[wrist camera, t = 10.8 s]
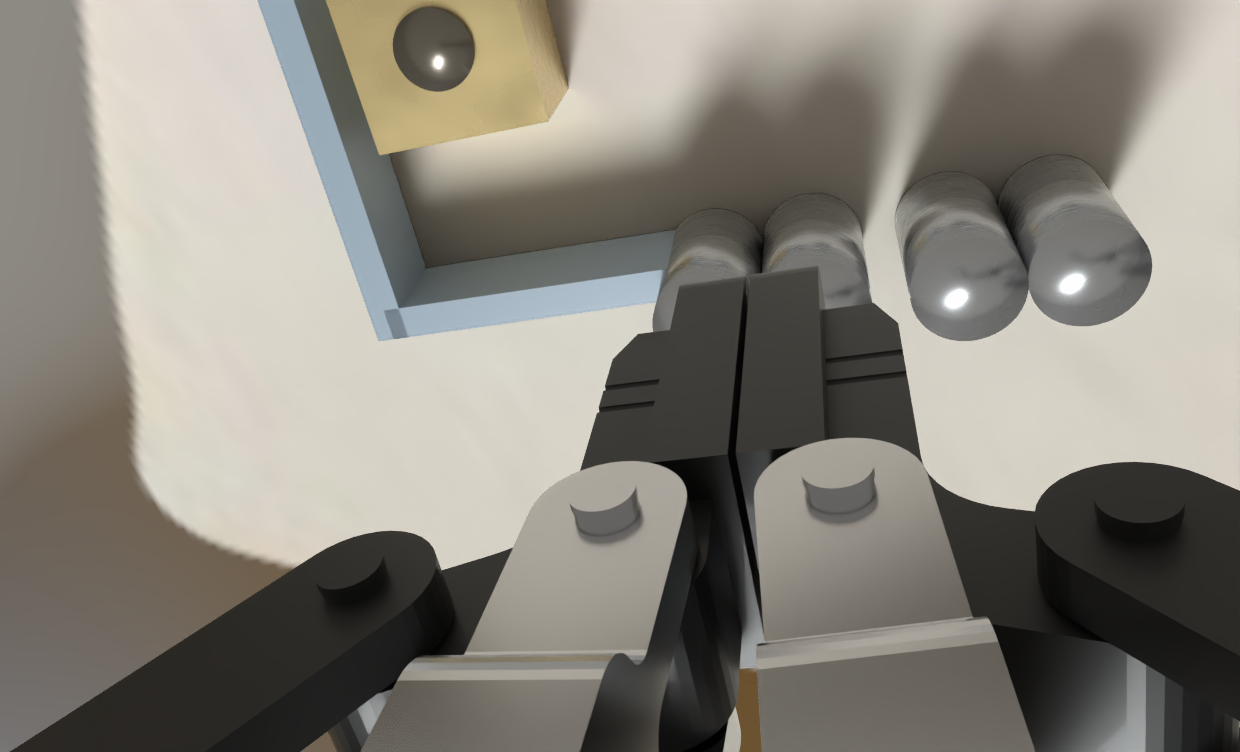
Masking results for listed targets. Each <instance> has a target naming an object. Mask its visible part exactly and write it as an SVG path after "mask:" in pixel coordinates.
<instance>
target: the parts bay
mask: <svg viewBox="0 0 1240 752" xmlns="http://www.w3.org/2000/svg"><path fill="white" fill-rule="evenodd" d="M258 3H259V6H260V9H261V12H262V14H263V17H264V20H265V23H266V26H267V28H268V31H269V34H270V37H271V40H272V42H273V45H274V48H275V51H276V54H277V57H278V59H279V62H280V65H281V68H282V71H283V73H284V76H285V79H286V82H287V85H288V87H289V90H290V93H291V96H292V99H293V102H294V104H295V107H296V110H297V113H298V116H299V118H300V121H301V124H302V127H303V130H304V132H305V135H306V138H307V141H308V144H309V147H310V149H311V152H312V155H313V158H314V161H315V163H316V166H317V169H318V172H319V175H320V177H321V180H322V183H323V186H324V189H325V192H326V194H327V197H328V200H329V203H330V206H331V208H332V211H333V214H334V217H335V220H336V222H337V225H338V228H339V231H340V234H341V237H342V239H343V242H344V245H345V248H346V251H347V253H348V256H349V259H350V262H351V265H352V268H353V270H354V273H355V276H356V279H357V282H358V284H359V287H360V290H361V293H362V296H363V298H364V301H365V304H366V307H367V310H368V313H369V315H370V318H371V321H372V324H373V327H374V329H375V332H376V335H377V338H378V341H384V340H391V339H398V338H406V337H413V336H420V335H427V334H434V333H441V332H448V331H455V330H462V329H470V328H477V327H484V326H491V325H498V324H505V323H512V322H519V321H527V320H534V319H541V318H548V317H555V316H562V315H569V314H576V313H583V312H591V311H598V310H605V309H612V308H619V307H626V306H633V305H640V304H648V303H655V302H656V301H657V297H658V293H659V288H660V284H661V281H662V277H663V275H664V273H665V271H666V270H667V266H668V262H669V257H670V253H671V249H672V244H673V240H674V235H675V231H676V230H670V231H663V232H657V233H650V234H644V235H637V236H631V237H624V238H618V239H611V240H605V241H598V242H592V243H585V244H579V245H572V246H566V247H559V248H553V249H546V250H540V251H533V252H527V253H520V254H514V255H508V256H501V257H495V258H488V259H482V260H475V261H469V262H462V263H456V264H449V265H443V266H436V267H430V268H426V267H425V264H424V261H423V258H422V254H421V251H420V248H419V245H418V242H417V239H416V236H415V233H414V230H413V227H412V223H411V220H410V217H409V214H408V211H407V208H406V205H405V202H404V199H403V195H402V192H401V189H400V186H399V183H398V180H397V177H396V174H395V171H394V168H393V164H392V161H391V158H390V155H389V154H384V155H379V153H378V150H377V147H376V144H375V141H374V139H373V136H372V133H371V130H370V127H369V124H368V121H367V118H366V115H365V113H364V110H363V107H362V104H361V101H360V98H359V95H358V92H357V89H356V86H355V84H354V81H353V78H352V75H351V72H350V69H349V66H348V63H347V60H346V58H345V55H344V52H343V49H342V46H341V43H340V40H339V37H338V34H337V32H336V29H335V26H334V23H333V20H332V17H331V14H330V11H329V8H328V5H327V3H326V0H258Z"/></svg>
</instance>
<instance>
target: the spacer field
mask: <svg viewBox="0 0 1240 752" xmlns="http://www.w3.org/2000/svg"><path fill="white" fill-rule="evenodd" d="M895 230H896V235H897V239H898V244H899V249H900V253H901V258H902V263H903V267H904V272H905V277H906V281H907V286H908V291H909V295H910V300H911V304H912V308H913V310H914V313H915V315H916V316H917V318H918V319H919V321H920V322H921V323H922V324H923V325H924V326H925V327H926V328H927V329H928V330H930V331H931V332H933V333H935V334H936V335H938V336H941V337H943V338H947V339H950V340H957V341H972V340H978V339H982V338H986V337H989V336H991V335H993V334H995V333H997V332H999V331H1001V330H1002V329H1004V328H1005V327H1006V326H1008V325H1009V324H1010V323H1011V322H1012V321H1013V320H1014V319H1015V318H1016V317H1017V316H1018V314H1019V313H1020V311H1021V310H1022V308H1023V306H1024V304H1025V301H1026V298H1027V294H1028V289H1029V291H1030V294H1031V296H1032V298H1033V300H1034V302H1035V304H1036V305H1037V307H1038V308H1039V309H1040V310H1041V311H1042V312H1043V313H1044V314H1045V315H1047V316H1048V317H1050V318H1051V319H1053V320H1055V321H1058V322H1060V323H1063V324H1067V325H1072V326H1092V325H1097V324H1101V323H1105V322H1108V321H1110V320H1112V319H1115V318H1116V317H1118V316H1120V315H1122V314H1123V313H1125V312H1126V311H1128V310H1129V309H1130V308H1131V307H1132V306H1133V305H1134V304H1135V303H1136V302H1137V301H1138V300H1139V299H1140V297H1141V296H1142V295H1143V293H1144V292H1145V290H1146V288H1147V286H1148V283H1149V281H1150V277H1151V272H1152V259H1151V255H1150V251H1149V249H1148V246H1147V245H1146V243H1145V241H1144V240H1143V238H1142V237H1141V235H1140V234H1139V233H1138V231H1137V230H1136V228H1135V227H1134V225H1133V224H1132V223H1131V221H1130V220H1129V218H1128V217H1127V215H1126V214H1125V213H1124V211H1123V210H1122V208H1121V207H1120V205H1119V204H1118V203H1117V201H1116V200H1115V198H1114V197H1113V195H1112V194H1111V192H1110V191H1109V190H1108V188H1107V187H1106V185H1105V184H1104V182H1103V181H1102V180H1101V178H1100V177H1099V175H1098V174H1097V173H1096V171H1095V170H1094V169H1093V168H1092V167H1091V166H1090V165H1088V164H1087V163H1085V162H1084V161H1082V160H1080V159H1078V158H1075V157H1071V156H1066V155H1050V156H1045V157H1041V158H1038V159H1035V160H1033V161H1031V162H1028V163H1027V164H1025V165H1024V166H1022V167H1021V168H1019V169H1018V170H1017V171H1016V172H1015V173H1014V174H1013V175H1012V176H1011V177H1010V178H1009V179H1008V181H1007V182H1006V184H1005V185H1004V187H1003V189H1002V191H1001V194H1000V197H999V201H998V205H997V203H996V201H995V198H994V196H993V194H992V193H991V191H990V190H989V188H988V187H987V186H986V185H985V184H984V183H982V182H981V181H980V180H978V179H977V178H975V177H973V176H970V175H968V174H964V173H959V172H942V173H937V174H933V175H931V176H928V177H926V178H924V179H922V180H920V181H919V182H917V183H916V184H915V185H913V186H912V187H911V188H910V189H909V190H908V191H907V192H906V193H905V195H904V196H903V197H902V199H901V201H900V203H899V205H898V208H897V211H896V215H895ZM811 266H819V270H820V275H821V282H822V288H823V295H824V302H825V309H832V308H840V307H847V306H855V305H863V304H870V303H872V299H871V292H870V285H869V279H868V272H867V265H866V258H865V251H864V245H863V238H862V231H861V226H860V223H859V220H858V219H857V217H856V215H855V213H854V212H853V211H852V210H851V208H850V207H849V206H848V205H846V204H845V203H844V202H842V201H841V200H839V199H837V198H835V197H832V196H829V195H826V194H820V193H809V194H803V195H799V196H796V197H793V198H791V199H789V200H787V201H786V202H784V203H783V204H781V205H780V206H779V207H778V208H777V209H776V210H775V211H774V212H773V213H772V215H771V216H770V218H769V220H768V222H767V224H766V227H765V231H764V239H763V240H762V238H761V235H760V234H759V232H758V230H757V229H756V227H755V226H754V225H753V224H752V223H751V222H750V221H749V220H748V219H746V218H745V217H744V216H742V215H740V214H738V213H736V212H733V211H730V210H726V209H707V210H702V211H699V212H696V213H694V214H692V215H690V216H689V217H688V218H686V219H685V220H684V221H683V222H681V223H680V225H679V226H678V227H677V228H676V231H675V235H674V240H673V244H672V249H671V253H670V257H669V262H668V266H667V270H666V271H665V273H664V275H663V277H662V281H661V284H660V288H659V293H658V297H657V301H656V306H655V310H654V314H653V332H658V331H666V330H670V327H671V322H672V318H673V313H674V308H675V303H676V299H677V294H678V289H679V286H680V285H683V284H691V283H698V282H705V281H712V280H719V279H726V278H733V277H741V276H747V278H748V281H749V284H750V278H751V275H754V274H761V273H768V272H775V271H782V270H789V269H796V268H803V267H811Z"/></svg>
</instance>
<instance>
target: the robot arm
mask: <svg viewBox="0 0 1240 752" xmlns="http://www.w3.org/2000/svg"><path fill="white" fill-rule="evenodd" d="M605 388H606V391H603V395H602V398H601V402H600V405H599V413H597V415H596V419H595V422H594V425H593V429H592V432H591V436H590V439H589V443H588V446H587V449H586V453H585V456H584V460H583V463H582V466H581V470H580V471H579V472H577V473H574V474H572V475H570V476H568V477H566V478H564V479H562V480H561V481H559V482H558V483H556V484H555V485H553V486H552V487H550V488H549V489H548V490H547V491H546V492H544V493H543V494H542V495H541V496H540V497H539V499H538V500H537V501H536V502H535V503H534V505H533V507H532V508H531V510H530V512H529V514H528V516H527V518H526V521H525V523H524V525H523V527H522V529H521V531H520V534H519V536H518V538H517V540H516V542H515V545H514V547H513V548H511V549H508V550H506V551H503V552H500V553H497V554H494V555H491V556H488V557H484V558H481V559H478V560H475V561H471V562H468V563H465V564H461V565H458V566H455V567H452V568H448V569H445V570H441V568H440V565H439V562H438V559H437V557H436V554H435V551H434V549H433V547H432V546H431V545H430V543H429V542H428V541H426V540H425V539H424V538H422V537H420V536H418V535H415V534H412V533H408V532H402V531H381V532H374V533H368V534H364V535H360V536H356V537H353V538H350V539H347V540H345V541H342V542H339V543H337V544H335V545H333V546H331V547H329V548H326V549H325V550H323V551H321V552H320V553H318V554H316V555H314V556H313V557H311V558H310V559H308V560H307V561H305V562H304V563H302V564H300V565H299V566H297V567H296V568H294V569H293V570H291V571H290V572H288V573H287V574H285V575H283V576H282V577H281V578H279V579H277V580H276V581H274V582H273V583H271V584H270V585H268V586H267V587H265V588H264V589H262V590H260V591H259V592H257V593H255V594H254V595H252V596H251V597H249V598H248V599H246V600H245V601H243V602H242V603H240V604H238V605H237V606H235V607H234V608H232V609H231V610H229V611H228V612H226V613H224V614H223V615H221V616H220V617H218V618H217V619H215V620H214V621H212V622H211V623H209V624H208V625H206V626H204V627H203V628H201V629H200V630H198V631H197V632H195V633H193V634H192V635H190V636H189V637H187V638H186V639H184V640H183V641H181V642H180V643H178V644H177V645H175V646H173V647H172V648H170V649H169V650H167V651H166V652H164V653H162V654H161V655H159V656H158V657H156V658H155V659H153V660H152V661H150V662H148V663H147V664H145V665H144V666H142V667H141V668H139V669H138V670H136V671H134V672H133V673H131V674H130V675H128V676H127V677H125V678H124V679H122V680H121V681H119V682H117V683H116V684H114V685H113V686H111V687H110V688H108V689H107V690H105V691H103V692H102V693H100V694H99V695H97V696H96V697H94V698H93V699H91V700H90V701H88V702H86V703H85V704H83V705H82V706H80V707H79V708H77V709H76V710H74V711H72V712H71V713H69V714H68V715H66V716H65V717H63V718H62V719H60V720H59V721H57V722H56V723H54V724H52V725H51V726H49V727H48V728H46V729H45V730H43V731H42V732H40V733H38V734H37V735H35V736H34V737H32V738H31V739H29V740H28V741H26V742H24V743H23V744H21V745H20V746H18V747H17V748H15V749H14V750H12V751H10V752H300V751H301V750H303V749H304V748H306V747H307V746H308V745H310V744H311V743H312V742H314V741H315V740H316V739H318V738H319V737H320V736H322V735H323V734H324V733H326V732H327V731H328V733H329V735H330V737H331V739H332V742H333V744H334V746H335V748H336V750H337V752H739V749H740V743H741V731H740V726H739V721H738V716H737V712H736V708H735V706H736V703H737V697H738V688H739V673H740V668H755V667H757V678H758V695H759V711H760V727H761V742H762V752H1240V727H1239V726H1240V491H1239V490H1236V489H1234V488H1232V487H1229V486H1227V485H1225V484H1222V483H1220V482H1217V481H1215V480H1213V479H1210V478H1208V477H1206V476H1203V475H1200V474H1198V473H1195V472H1192V471H1189V470H1186V469H1182V468H1178V467H1174V466H1169V465H1163V464H1156V463H1143V462H1122V463H1111V464H1103V465H1098V466H1094V467H1089V468H1085V469H1083V470H1080V471H1077V472H1074V473H1071V474H1069V475H1068V476H1066V477H1064V478H1062V479H1060V480H1058V481H1057V482H1056V483H1054V484H1053V485H1051V486H1050V487H1049V488H1048V489H1047V490H1046V491H1045V492H1044V493H1043V495H1042V496H1041V498H1040V499H1039V501H1038V503H1037V505H1036V510H1035V512H1034V511H1025V510H1016V509H1007V508H1001V507H994V506H989V505H985V504H981V503H977V502H973V501H971V500H968V499H965V498H963V497H960V496H958V495H956V494H954V493H952V492H950V491H948V490H946V489H945V488H944V487H942V486H941V485H939V484H938V483H937V482H936V481H935V480H934V479H933V478H932V477H931V476H930V475H929V474H928V472H927V471H926V469H925V467H924V465H923V463H922V459H921V455H920V449H919V443H918V438H917V432H916V426H915V420H914V414H913V408H912V403H911V397H910V391H909V385H908V379H907V374H906V367H905V362H904V356H903V350H902V344H901V338H900V332H899V327H898V323H897V322H896V321H895V320H894V319H892V318H891V317H890V316H889V315H887V314H886V313H885V312H884V311H883V310H881V309H880V308H879V307H878V306H877V305H875V304H874V303H870V304H863V305H855V306H847V307H840V308H832V309H825V302H824V295H823V288H822V282H821V275H820V270H819V266H811V267H803V268H796V269H789V270H782V271H775V272H768V273H761V274H754V275H751V278H750V284H749V281H748V278H747V276H741V277H733V278H726V279H719V280H712V281H705V282H698V283H691V284H683V285H680V286H679V289H678V294H677V299H676V303H675V308H674V313H673V318H672V322H671V327H670V330H666V331H658V332H651V333H643V334H638V335H637V336H636V337H635V338H634V339H633V340H632V341H631V342H630V343H629V344H628V345H627V346H626V347H625V348H624V349H623V350H622V351H621V352H620V353H619V354H618V355H617V356H616V357H615V358H614V359H613V361H612V364H611V367H610V371H609V374H608V378H607V381H606V385H605Z"/></svg>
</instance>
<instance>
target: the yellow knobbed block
mask: <svg viewBox="0 0 1240 752" xmlns="http://www.w3.org/2000/svg"><path fill="white" fill-rule="evenodd" d="M326 3H327V5H328V8H329V11H330V14H331V17H332V20H333V23H334V26H335V29H336V32H337V34H338V37H339V40H340V43H341V46H342V49H343V52H344V55H345V58H346V60H347V63H348V66H349V69H350V72H351V75H352V78H353V81H354V84H355V86H356V89H357V92H358V95H359V98H360V101H361V104H362V107H363V110H364V113H365V115H366V118H367V121H368V124H369V127H370V130H371V133H372V136H373V139H374V141H375V144H376V147H377V150H378V153H379V155H384V154H389V153H394V152H399V151H404V150H409V149H414V148H419V147H424V146H429V145H434V144H439V143H444V142H449V141H454V140H459V139H464V138H469V137H474V136H479V135H484V134H489V133H494V132H499V131H504V130H509V129H514V128H519V127H524V126H529V125H533V124H538V123H543V122H548V121H549V119H550V118H551V116H552V114H553V113H554V111H555V109H556V108H557V106H558V105H559V103H560V101H561V100H562V98H563V97H564V95H565V93H566V92H567V90H568V89H569V88H568V84H567V81H566V77H565V73H564V69H563V65H562V61H561V57H560V54H559V50H558V46H557V42H556V38H555V34H554V30H553V26H552V23H551V19H550V15H549V11H548V7H547V3H546V0H326Z"/></svg>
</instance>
